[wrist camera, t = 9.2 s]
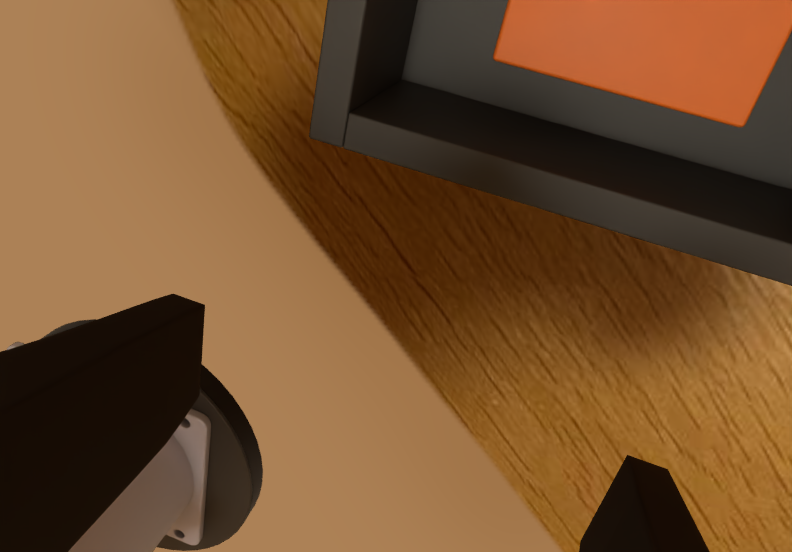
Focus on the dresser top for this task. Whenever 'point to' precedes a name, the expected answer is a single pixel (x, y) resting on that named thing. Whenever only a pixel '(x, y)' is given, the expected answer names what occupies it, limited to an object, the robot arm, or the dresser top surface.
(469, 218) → the dresser top surface
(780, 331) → the dresser top surface
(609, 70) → the block
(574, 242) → the dresser top surface
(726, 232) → the storage bin
